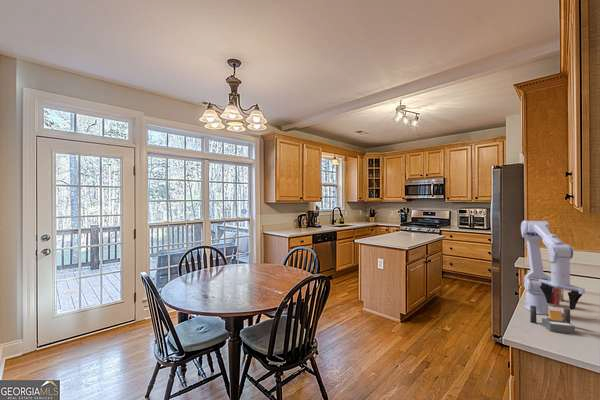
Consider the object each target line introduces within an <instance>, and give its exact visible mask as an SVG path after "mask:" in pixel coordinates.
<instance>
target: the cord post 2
mask: <svg viewBox="0 0 600 400" xmlns="http://www.w3.org/2000/svg"><path fill="white" fill-rule="evenodd" d="M563 319H565V320H566V321H567V322H568V323H570V324H571V310H570V308H563Z"/></svg>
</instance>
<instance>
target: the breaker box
mask: <svg viewBox="0 0 600 400" xmlns="http://www.w3.org/2000/svg"><path fill="white" fill-rule="evenodd" d="M562 319H563V321H561V320H551V319H550V318H549V316H548V317H546V318H545V317H542V318H541V322H542V323H541V325H542V326H543V327H544V328H545V327H546V330H548V331H550V332H554V333H561V334H571V335H575V334H576V328H575V325H573V324H572V323H571V322H570V323H568V322H567V321H566V320H565V319H564V318H562Z"/></svg>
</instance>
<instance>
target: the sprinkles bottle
mask: <svg viewBox="0 0 600 400" xmlns="http://www.w3.org/2000/svg"><path fill="white" fill-rule="evenodd" d="M564 294H565V293H564V289H560V288H559V298H560V302H564Z"/></svg>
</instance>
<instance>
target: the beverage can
mask: <svg viewBox="0 0 600 400" xmlns="http://www.w3.org/2000/svg"><path fill="white" fill-rule="evenodd" d="M560 303H561V301H560V298H559V288H556V287H554V289H553V292H552V303H548V306H551V307H557V306H559V305H560Z"/></svg>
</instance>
